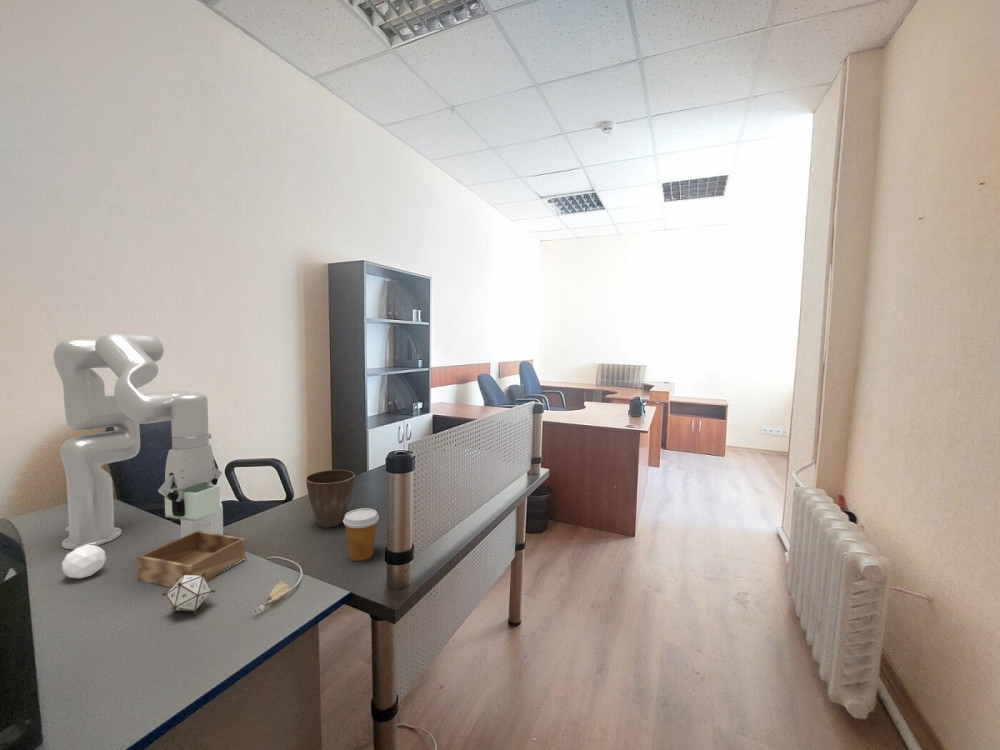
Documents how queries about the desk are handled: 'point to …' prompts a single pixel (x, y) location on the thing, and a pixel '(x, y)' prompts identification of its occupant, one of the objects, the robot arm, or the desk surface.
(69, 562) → the geometric ball
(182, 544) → the big crate
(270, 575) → the desk surface
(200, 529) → the photo printer
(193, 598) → the game die
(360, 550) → the disposable coffee cup
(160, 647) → the desk surface
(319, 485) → the plant pot
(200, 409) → the robot arm
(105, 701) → the desk surface
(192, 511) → the box
